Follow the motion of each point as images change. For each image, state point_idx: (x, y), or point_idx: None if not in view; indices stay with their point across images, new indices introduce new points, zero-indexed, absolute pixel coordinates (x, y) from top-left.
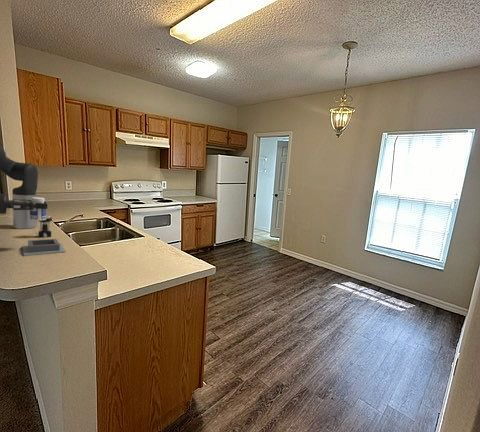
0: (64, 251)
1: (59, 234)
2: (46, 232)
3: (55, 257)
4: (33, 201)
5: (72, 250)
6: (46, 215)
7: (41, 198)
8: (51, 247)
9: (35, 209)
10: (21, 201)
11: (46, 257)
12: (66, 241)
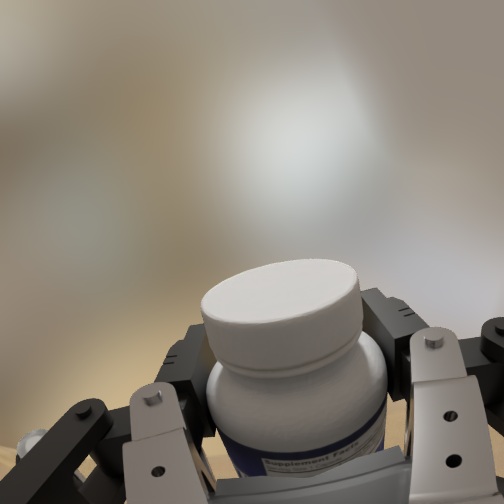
0: None
1: (92, 467)
2: None
3: (497, 448)
4: (345, 352)
5: (397, 431)
6: (27, 436)
7: (326, 262)
8: None
9: (385, 413)
10: (488, 443)
11: (501, 474)
12: (228, 465)
